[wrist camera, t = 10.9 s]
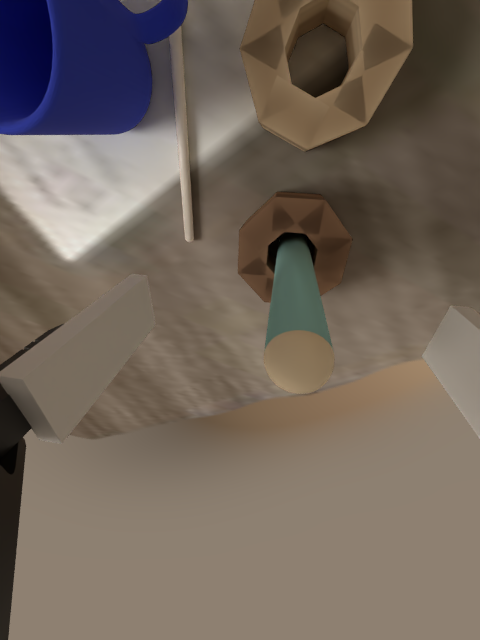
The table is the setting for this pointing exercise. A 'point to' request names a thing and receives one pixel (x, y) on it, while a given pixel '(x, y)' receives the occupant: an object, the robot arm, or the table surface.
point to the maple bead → (357, 86)
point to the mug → (78, 64)
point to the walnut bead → (297, 218)
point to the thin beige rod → (182, 129)
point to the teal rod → (297, 322)
